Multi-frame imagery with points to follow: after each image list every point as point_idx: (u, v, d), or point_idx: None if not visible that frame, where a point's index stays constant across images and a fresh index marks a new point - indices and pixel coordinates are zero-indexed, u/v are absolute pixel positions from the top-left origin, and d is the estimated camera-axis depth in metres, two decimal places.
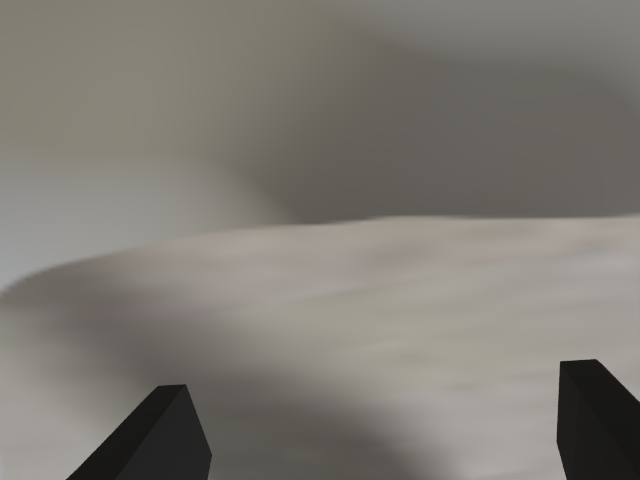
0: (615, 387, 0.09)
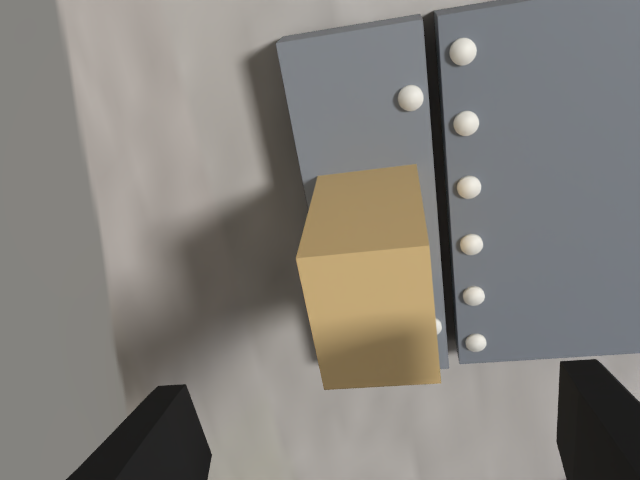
0: (615, 387, 0.09)
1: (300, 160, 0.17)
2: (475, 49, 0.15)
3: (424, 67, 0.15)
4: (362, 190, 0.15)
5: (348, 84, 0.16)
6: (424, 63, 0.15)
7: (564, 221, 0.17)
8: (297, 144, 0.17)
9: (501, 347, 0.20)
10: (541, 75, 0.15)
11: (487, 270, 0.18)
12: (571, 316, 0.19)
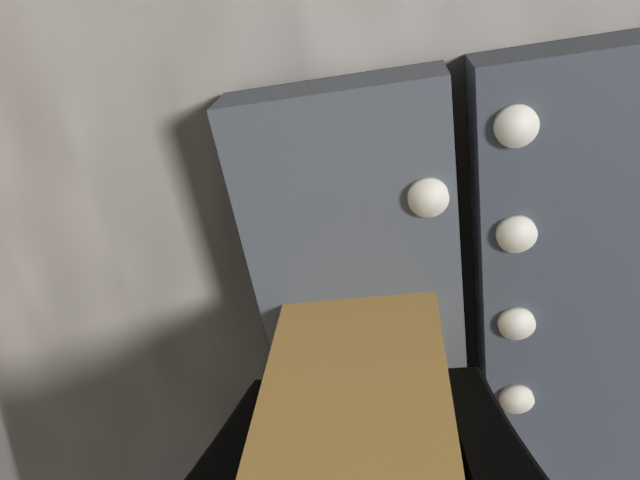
0: (482, 394, 0.09)
1: (254, 283, 0.11)
2: (537, 121, 0.09)
3: (451, 150, 0.09)
4: (349, 349, 0.09)
5: (328, 174, 0.10)
6: (452, 145, 0.09)
7: None
8: (249, 260, 0.11)
9: None
10: None
11: (539, 432, 0.12)
12: None
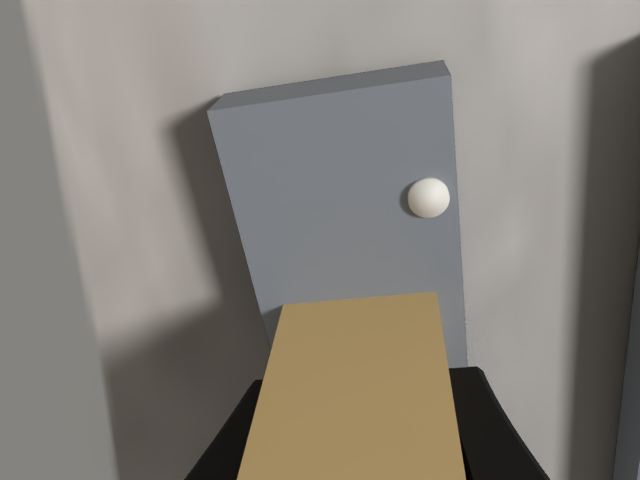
0: (483, 394, 0.09)
1: (255, 283, 0.11)
2: None
3: (452, 151, 0.09)
4: (350, 349, 0.09)
5: (328, 175, 0.10)
6: (452, 145, 0.09)
7: None
8: (250, 260, 0.11)
9: None
10: None
11: None
12: None
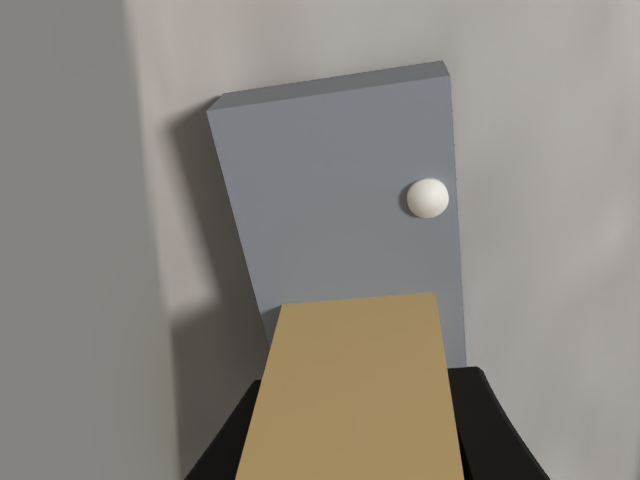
0: (483, 394, 0.09)
1: (254, 283, 0.11)
2: None
3: (451, 151, 0.09)
4: (349, 349, 0.09)
5: (327, 175, 0.10)
6: (451, 145, 0.09)
7: None
8: (249, 260, 0.11)
9: None
10: None
11: None
12: None
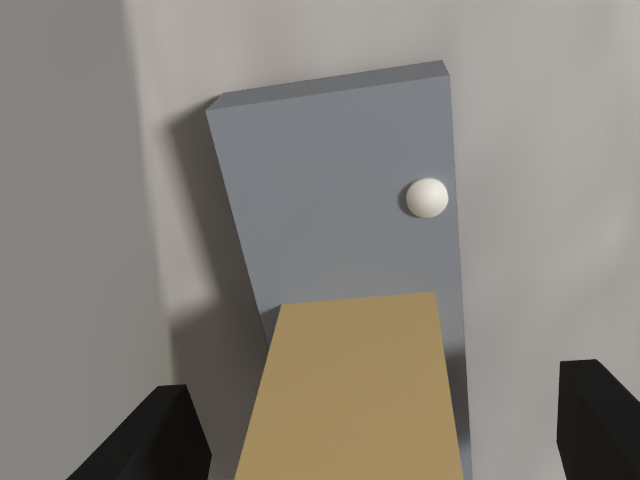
0: (615, 387, 0.09)
1: (253, 283, 0.11)
2: None
3: (450, 151, 0.09)
4: (348, 349, 0.09)
5: (326, 175, 0.10)
6: (450, 145, 0.09)
7: None
8: (248, 260, 0.11)
9: None
10: None
11: None
12: None
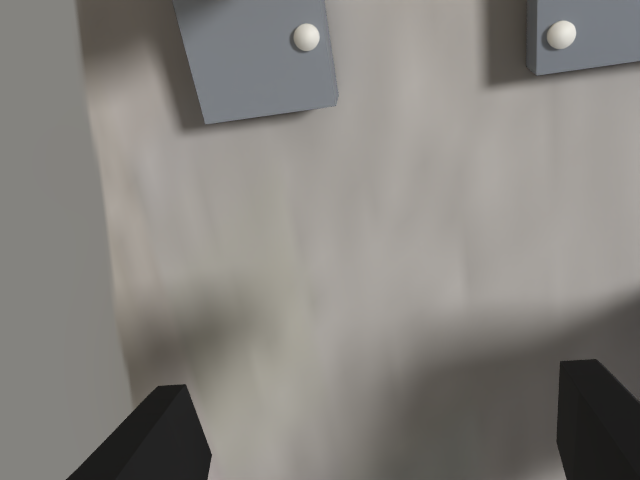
0: (615, 387, 0.09)
1: None
2: None
3: None
4: None
5: None
6: None
7: None
8: None
9: (594, 42, 0.15)
10: None
11: None
12: None
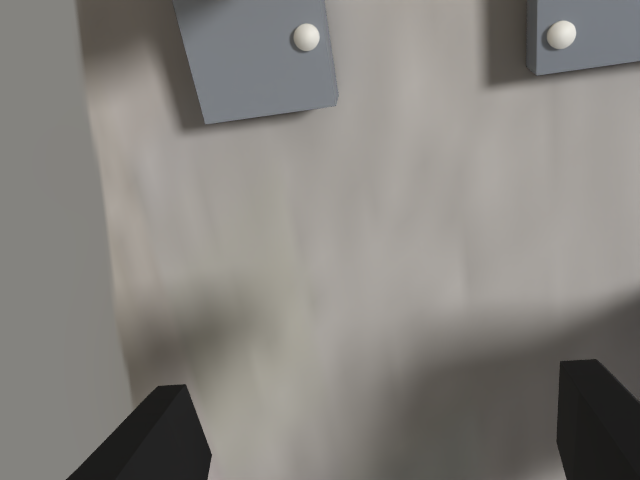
0: (615, 387, 0.09)
1: None
2: None
3: None
4: None
5: None
6: None
7: None
8: None
9: (594, 42, 0.15)
10: None
11: None
12: None
